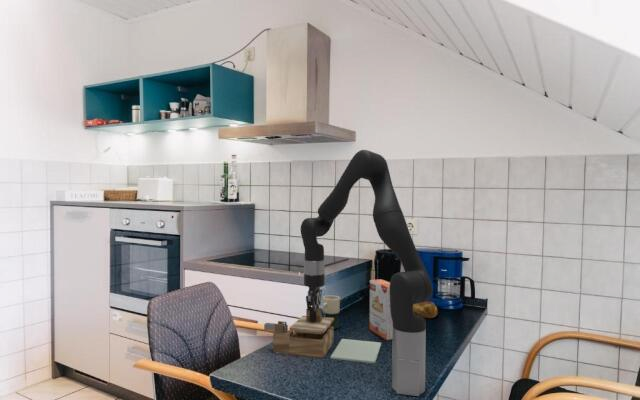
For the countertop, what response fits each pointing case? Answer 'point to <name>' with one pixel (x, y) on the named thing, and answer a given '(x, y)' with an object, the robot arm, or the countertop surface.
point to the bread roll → (425, 309)
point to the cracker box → (380, 309)
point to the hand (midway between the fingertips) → (314, 319)
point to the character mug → (331, 308)
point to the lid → (312, 323)
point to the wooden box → (302, 342)
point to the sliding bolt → (272, 326)
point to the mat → (357, 351)
